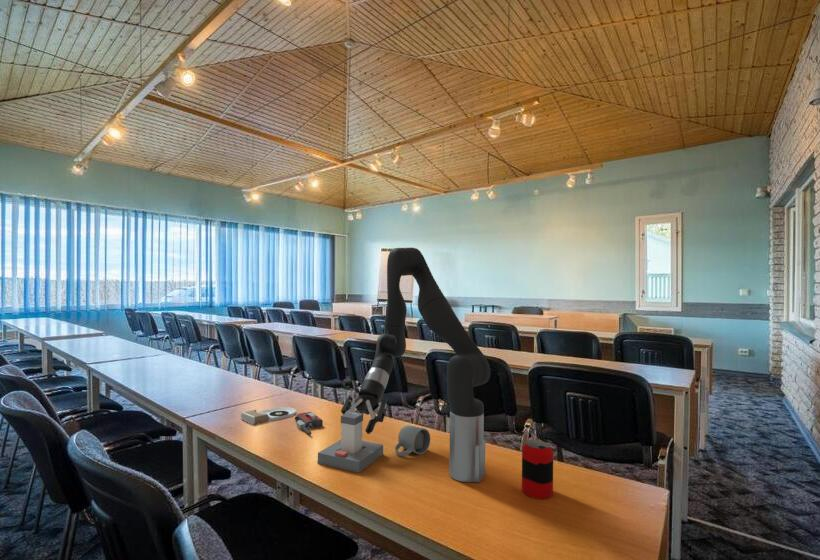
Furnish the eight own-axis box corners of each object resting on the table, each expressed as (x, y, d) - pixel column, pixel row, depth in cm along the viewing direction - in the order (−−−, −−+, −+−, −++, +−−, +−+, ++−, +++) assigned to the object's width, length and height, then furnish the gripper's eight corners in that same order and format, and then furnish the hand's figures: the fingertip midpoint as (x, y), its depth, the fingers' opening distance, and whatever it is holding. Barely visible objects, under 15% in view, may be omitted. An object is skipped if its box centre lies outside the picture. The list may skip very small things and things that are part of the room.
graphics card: (239, 411, 159) (285, 402, 174) (239, 419, 159) (285, 409, 174) (254, 418, 151) (301, 407, 166) (254, 426, 151) (301, 415, 166)
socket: (383, 454, 127) (383, 442, 127) (358, 472, 114) (359, 459, 114) (344, 446, 132) (345, 434, 133) (317, 463, 120) (317, 450, 120)
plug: (362, 457, 124) (363, 413, 125) (353, 463, 120) (354, 418, 120) (349, 454, 126) (349, 411, 127) (340, 460, 122) (340, 416, 122)
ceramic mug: (412, 443, 136) (412, 420, 136) (431, 450, 130) (431, 426, 130) (388, 453, 128) (388, 428, 129) (407, 461, 123) (407, 435, 123)
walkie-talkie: (289, 422, 157) (307, 438, 140) (289, 410, 157) (307, 425, 140) (311, 418, 162) (331, 433, 145) (311, 407, 162) (331, 421, 145)
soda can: (532, 501, 100) (532, 451, 100) (516, 486, 107) (516, 440, 107) (559, 497, 102) (559, 448, 102) (541, 483, 109) (541, 437, 110)
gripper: (351, 376, 137) (330, 420, 126) (390, 380, 131) (371, 428, 120) (359, 388, 141) (340, 432, 131) (397, 393, 135) (380, 440, 125)
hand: (355, 430), depth 125 cm, fingers open, 8 cm apart
